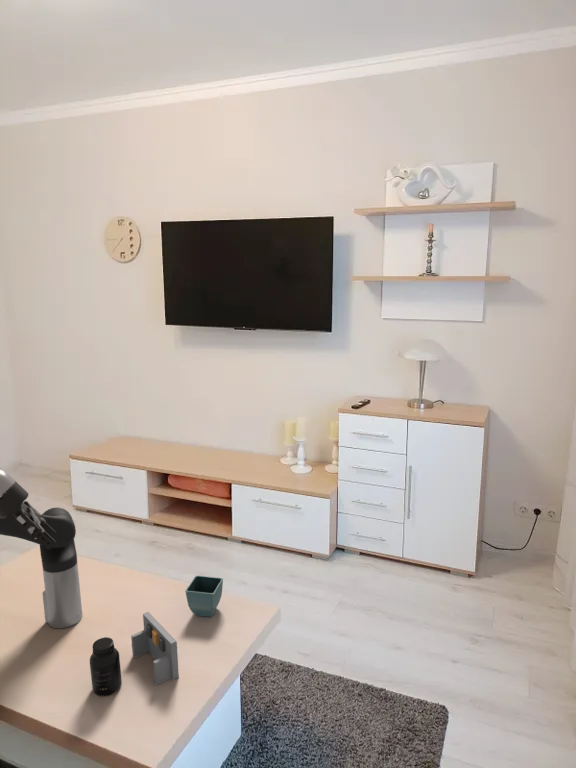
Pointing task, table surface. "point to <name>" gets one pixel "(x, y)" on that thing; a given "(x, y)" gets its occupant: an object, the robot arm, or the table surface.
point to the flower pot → (204, 595)
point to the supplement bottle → (105, 667)
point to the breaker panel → (157, 648)
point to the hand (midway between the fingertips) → (52, 541)
